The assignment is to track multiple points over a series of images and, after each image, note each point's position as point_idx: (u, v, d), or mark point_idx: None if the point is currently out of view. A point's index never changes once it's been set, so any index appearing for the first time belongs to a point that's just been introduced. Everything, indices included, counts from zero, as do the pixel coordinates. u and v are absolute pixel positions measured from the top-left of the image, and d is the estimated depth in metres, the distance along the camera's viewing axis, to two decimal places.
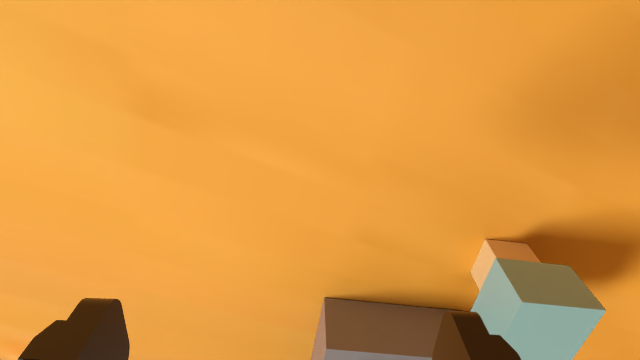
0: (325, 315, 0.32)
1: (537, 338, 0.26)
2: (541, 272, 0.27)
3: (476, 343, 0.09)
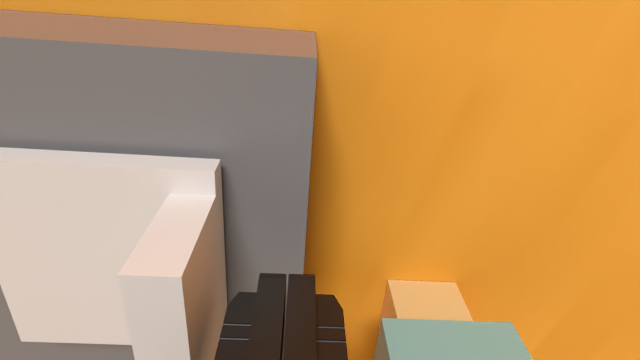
0: (313, 40, 0.13)
1: None
2: None
3: (298, 299, 0.10)
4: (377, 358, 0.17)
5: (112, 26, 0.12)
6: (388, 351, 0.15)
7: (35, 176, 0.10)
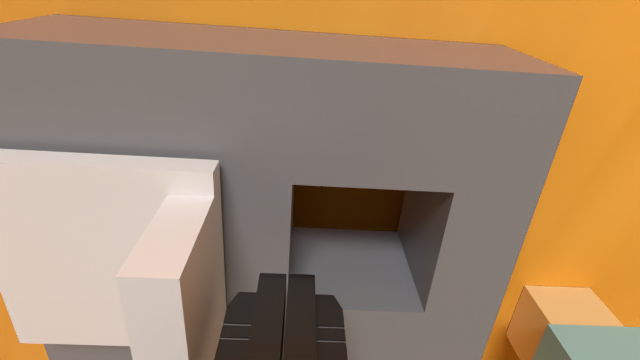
0: (522, 55, 0.13)
1: None
2: None
3: (298, 299, 0.10)
4: None
5: (335, 42, 0.13)
6: (569, 357, 0.15)
7: (33, 177, 0.10)
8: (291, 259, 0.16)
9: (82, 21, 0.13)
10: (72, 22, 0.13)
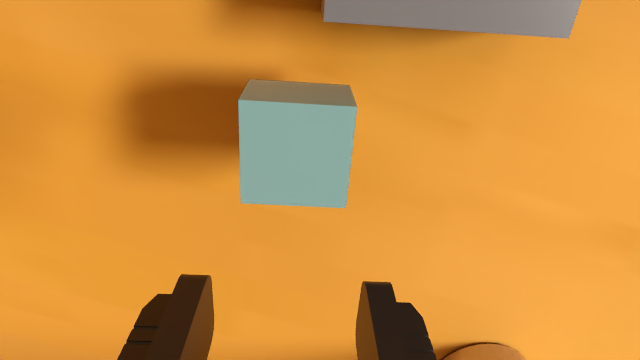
0: None
1: (305, 153, 0.20)
2: None
3: (381, 308, 0.10)
4: (316, 85, 0.22)
5: None
6: (351, 93, 0.21)
7: None
8: None
9: None
10: None
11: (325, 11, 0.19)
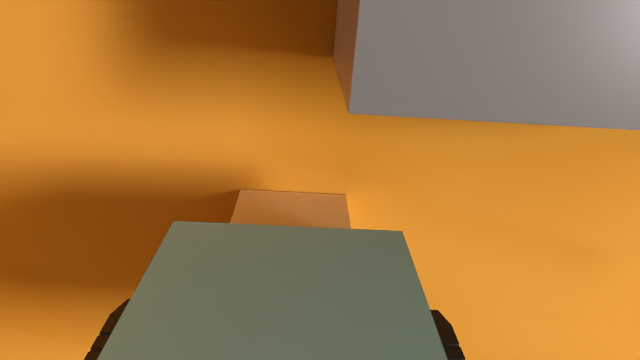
0: None
1: None
2: None
3: None
4: (328, 239, 0.09)
5: None
6: (415, 275, 0.08)
7: None
8: None
9: None
10: None
11: (355, 87, 0.07)
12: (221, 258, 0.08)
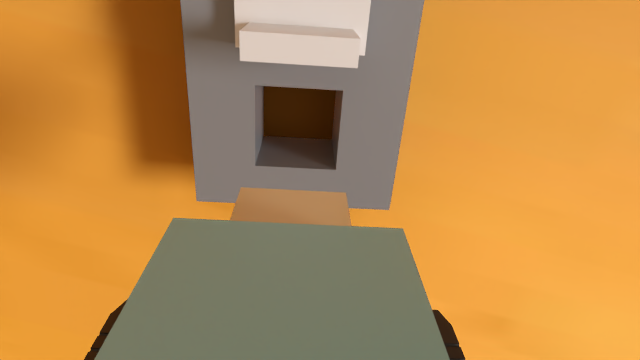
0: None
1: None
2: None
3: None
4: (329, 236, 0.09)
5: None
6: (416, 272, 0.08)
7: None
8: None
9: None
10: None
11: (197, 195, 0.25)
12: (221, 255, 0.08)
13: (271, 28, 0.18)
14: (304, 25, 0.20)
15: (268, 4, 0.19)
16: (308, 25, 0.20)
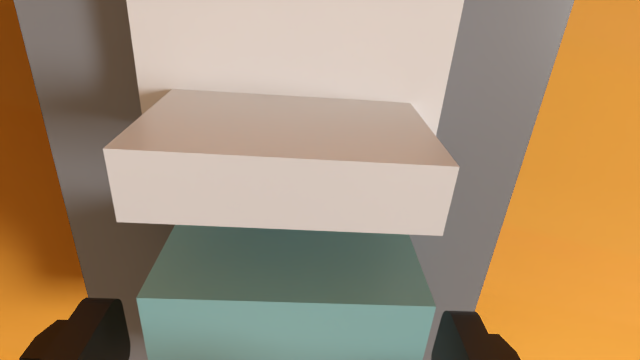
0: None
1: None
2: None
3: (475, 342, 0.09)
4: None
5: None
6: None
7: None
8: None
9: None
10: None
11: None
12: None
13: (212, 120, 0.07)
14: (299, 95, 0.09)
15: (214, 49, 0.08)
16: (308, 95, 0.09)
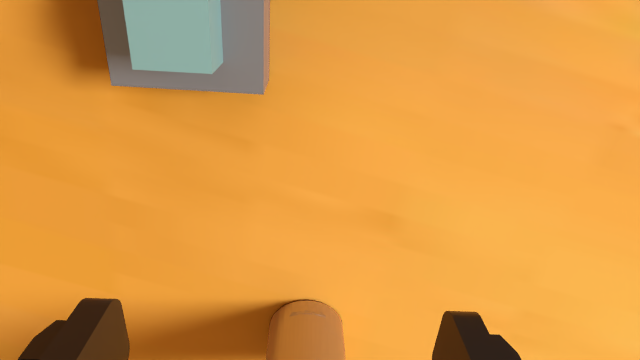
0: (266, 83, 0.36)
1: (174, 26, 0.27)
2: None
3: (476, 343, 0.09)
4: None
5: (267, 7, 0.33)
6: None
7: None
8: None
9: None
10: None
11: (111, 79, 0.32)
12: None
13: None
14: None
15: None
16: None
